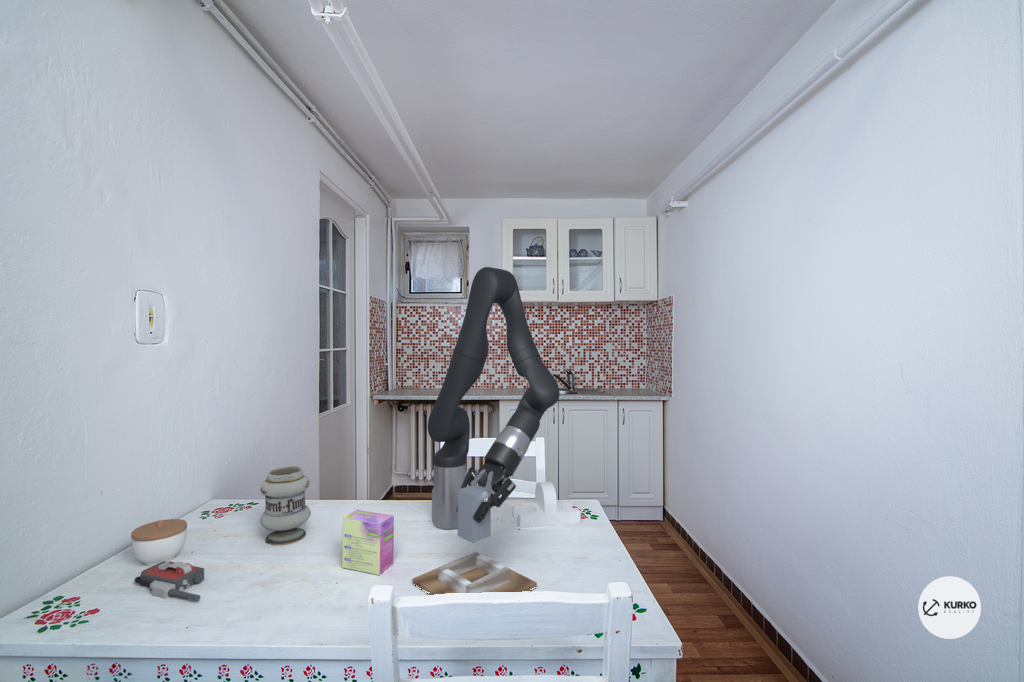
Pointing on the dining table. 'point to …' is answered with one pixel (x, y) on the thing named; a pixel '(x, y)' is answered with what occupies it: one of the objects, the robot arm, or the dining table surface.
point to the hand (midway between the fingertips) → (467, 516)
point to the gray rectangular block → (466, 509)
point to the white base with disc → (545, 509)
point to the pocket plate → (473, 577)
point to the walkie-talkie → (171, 579)
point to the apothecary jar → (285, 505)
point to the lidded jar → (159, 541)
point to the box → (367, 541)
